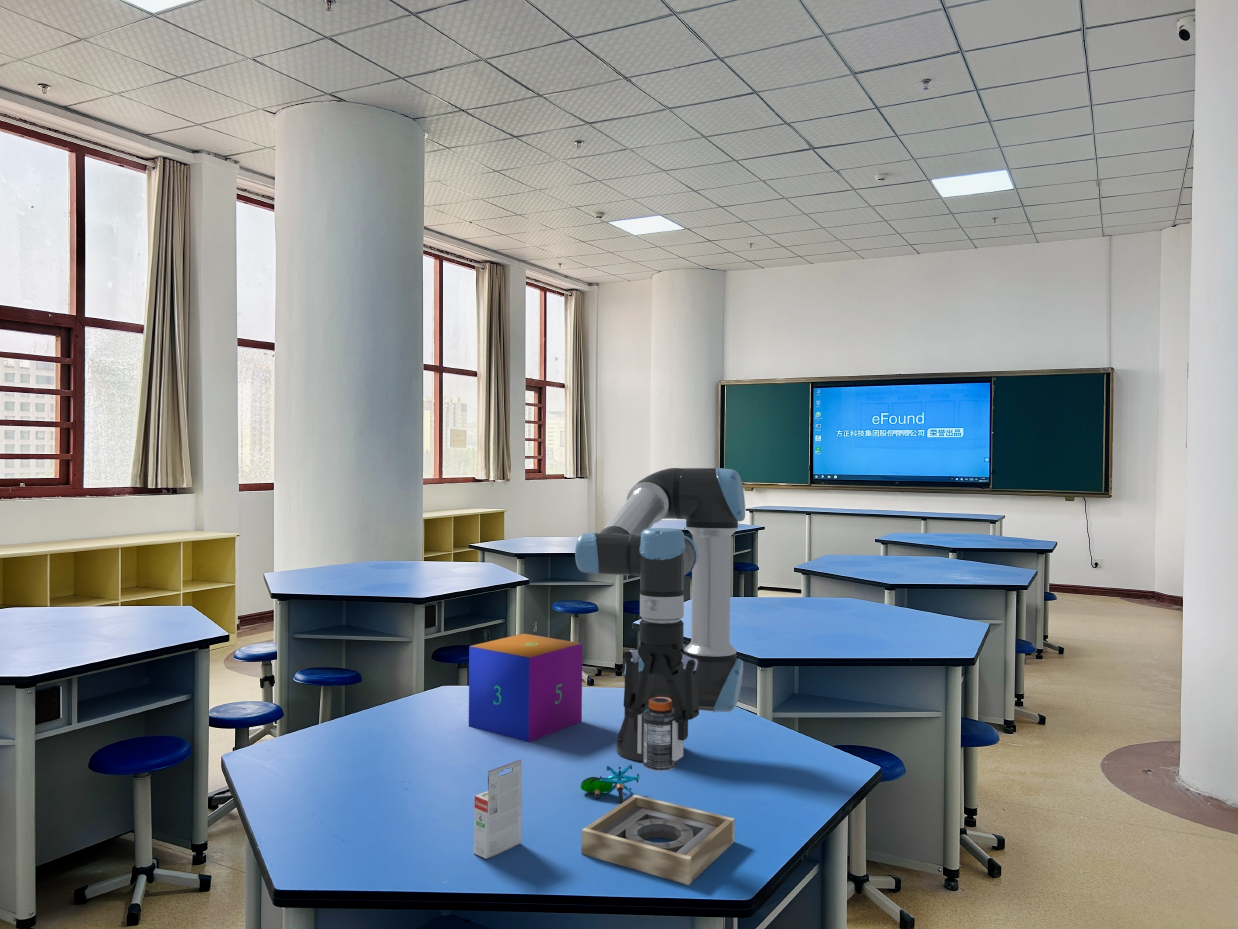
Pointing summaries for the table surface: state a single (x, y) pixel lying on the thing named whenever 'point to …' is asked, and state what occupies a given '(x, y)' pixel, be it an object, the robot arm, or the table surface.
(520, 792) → the ink box
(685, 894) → the table surface
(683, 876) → the bore box
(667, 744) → the pill bottle
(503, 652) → the cube
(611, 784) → the stick construction toy
